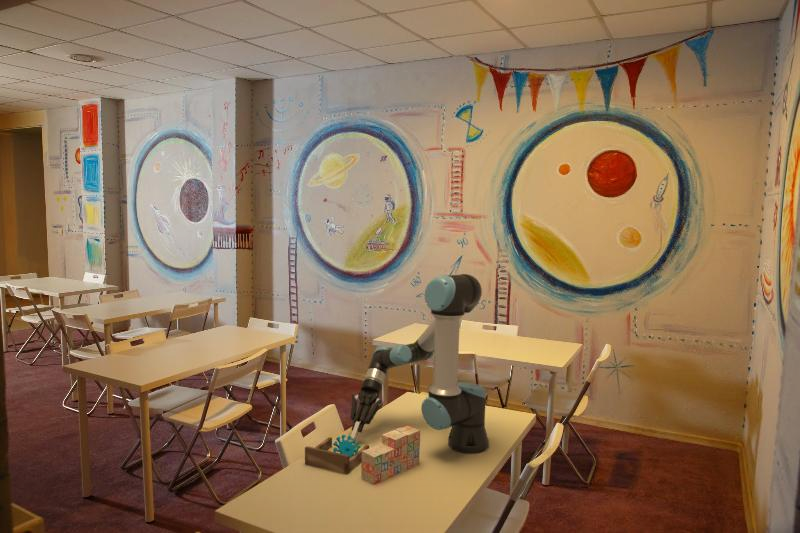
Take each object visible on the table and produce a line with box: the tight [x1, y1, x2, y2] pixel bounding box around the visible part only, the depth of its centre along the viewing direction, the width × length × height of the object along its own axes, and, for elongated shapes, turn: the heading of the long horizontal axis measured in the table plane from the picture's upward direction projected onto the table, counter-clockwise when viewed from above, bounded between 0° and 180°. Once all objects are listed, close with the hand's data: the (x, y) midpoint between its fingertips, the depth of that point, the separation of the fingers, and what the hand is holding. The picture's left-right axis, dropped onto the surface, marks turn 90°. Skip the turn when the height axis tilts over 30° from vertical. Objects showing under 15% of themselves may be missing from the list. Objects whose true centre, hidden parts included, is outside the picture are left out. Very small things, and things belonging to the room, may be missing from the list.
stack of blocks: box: [360, 425, 421, 485], centre depth 179 cm, size 21×6×12 cm, turn 135°
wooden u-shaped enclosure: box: [304, 436, 370, 475], centre depth 186 cm, size 16×16×6 cm
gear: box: [332, 434, 363, 459], centre depth 188 cm, size 11×6×10 cm
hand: (353, 439), depth 196 cm, fingers closed
